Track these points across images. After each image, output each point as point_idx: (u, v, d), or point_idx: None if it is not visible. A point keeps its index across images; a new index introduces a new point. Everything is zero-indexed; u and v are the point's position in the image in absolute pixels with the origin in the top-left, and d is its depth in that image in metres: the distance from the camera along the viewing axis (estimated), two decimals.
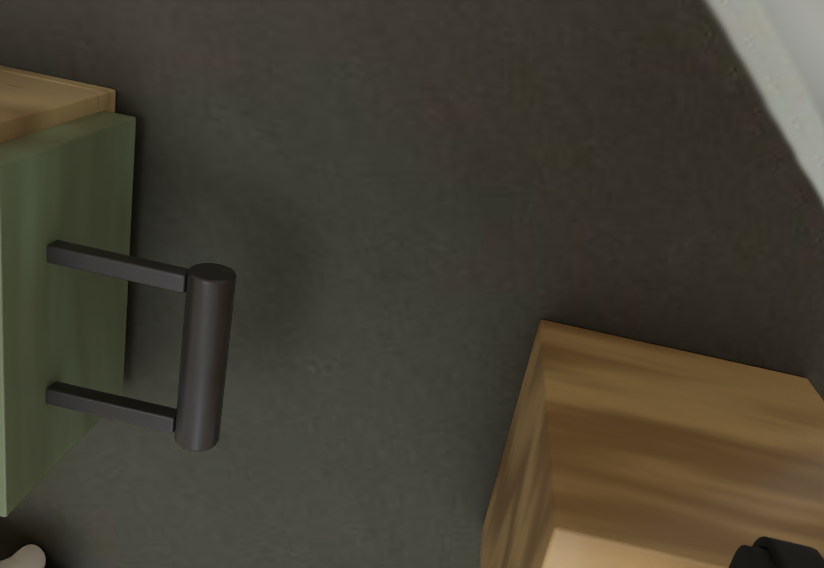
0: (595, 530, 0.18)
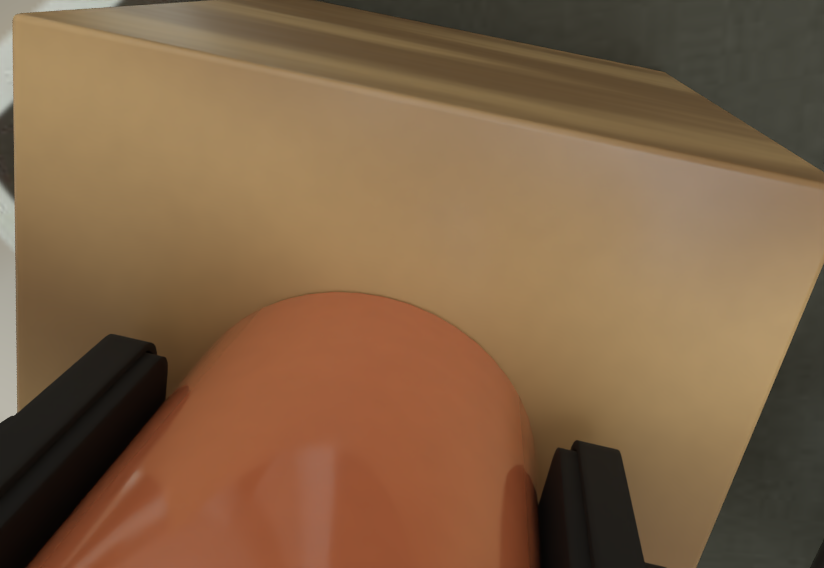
0: None
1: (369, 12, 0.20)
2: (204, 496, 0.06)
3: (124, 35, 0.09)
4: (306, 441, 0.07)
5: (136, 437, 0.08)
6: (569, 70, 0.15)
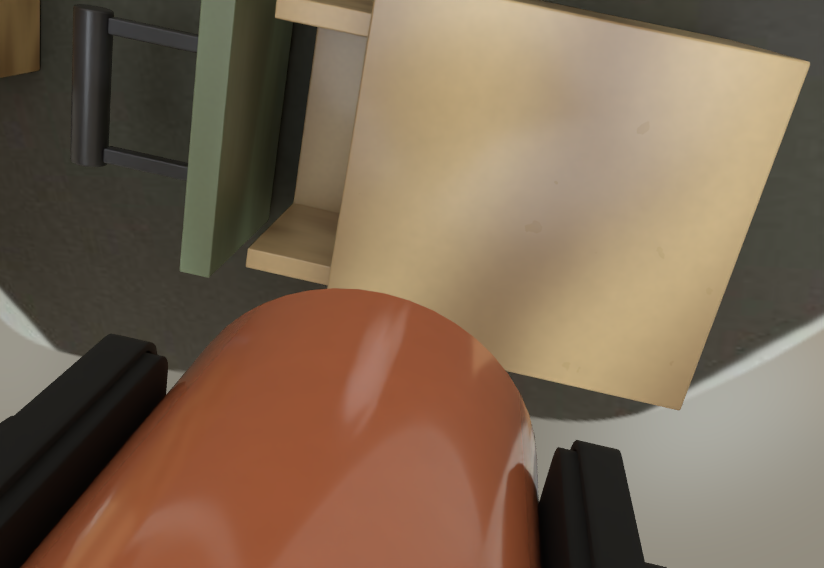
0: None
1: None
2: (201, 491, 0.06)
3: None
4: (305, 437, 0.07)
5: (135, 433, 0.08)
6: None
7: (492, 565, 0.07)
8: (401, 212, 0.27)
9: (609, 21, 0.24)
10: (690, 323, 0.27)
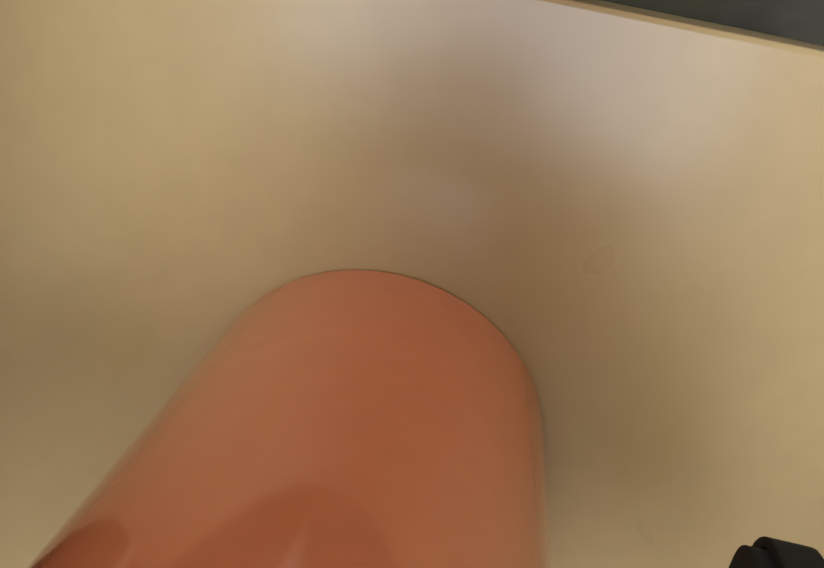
0: None
1: None
2: (238, 448, 0.06)
3: None
4: (330, 401, 0.07)
5: (165, 403, 0.09)
6: None
7: (505, 520, 0.07)
8: (62, 428, 0.12)
9: None
10: None
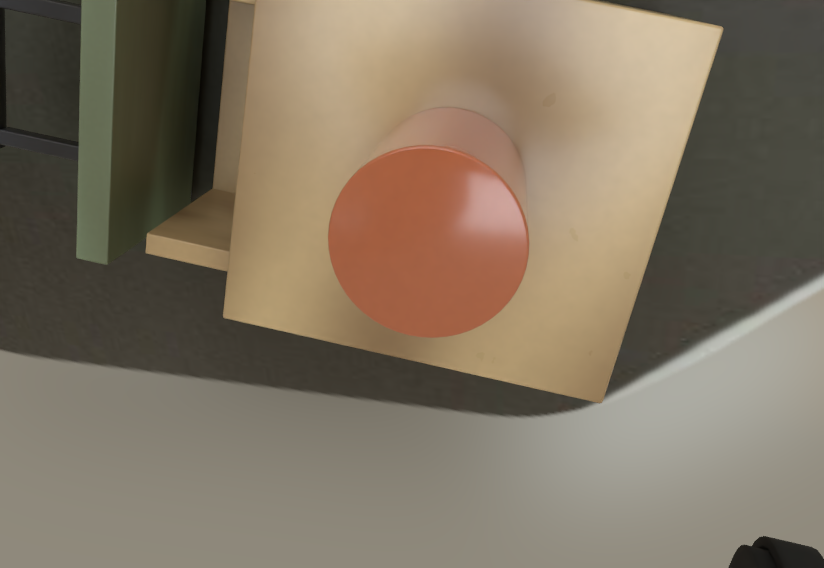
0: None
1: None
2: (424, 133, 0.20)
3: None
4: (449, 127, 0.21)
5: (377, 146, 0.22)
6: None
7: (510, 166, 0.20)
8: (299, 193, 0.25)
9: None
10: (608, 310, 0.25)
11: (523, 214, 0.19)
